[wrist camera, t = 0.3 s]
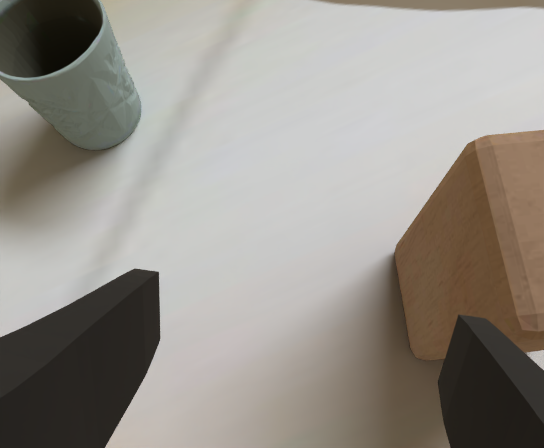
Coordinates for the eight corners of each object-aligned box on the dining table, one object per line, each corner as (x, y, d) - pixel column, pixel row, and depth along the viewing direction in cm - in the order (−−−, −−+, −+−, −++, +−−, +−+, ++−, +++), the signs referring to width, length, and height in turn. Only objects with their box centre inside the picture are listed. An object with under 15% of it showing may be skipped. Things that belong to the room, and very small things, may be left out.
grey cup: (48, 160, 46) (-33, 87, 35) (56, 75, 49) (-16, -17, 38) (149, 150, 46) (101, 74, 35) (150, 65, 49) (106, -30, 38)
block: (409, 362, 38) (519, 339, 19) (390, 245, 41) (467, 128, 23) (533, 352, 38) (765, 319, 19) (503, 235, 41) (677, 109, 22)
